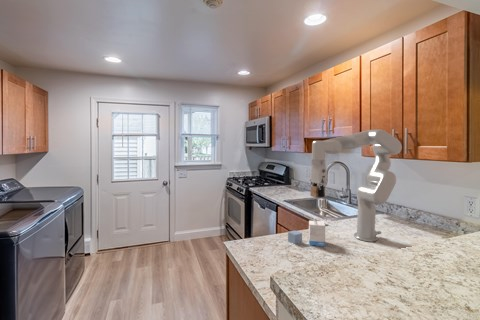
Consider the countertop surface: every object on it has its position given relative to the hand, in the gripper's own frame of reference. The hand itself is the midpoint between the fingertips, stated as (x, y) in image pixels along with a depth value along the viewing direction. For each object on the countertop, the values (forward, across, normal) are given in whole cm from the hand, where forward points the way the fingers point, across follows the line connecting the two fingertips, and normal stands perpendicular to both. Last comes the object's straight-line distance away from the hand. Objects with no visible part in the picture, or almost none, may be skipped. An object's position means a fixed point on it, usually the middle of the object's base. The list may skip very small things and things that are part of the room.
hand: (317, 195), depth 139 cm
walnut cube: (+1, 0, 0) cm, 1 cm away
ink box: (+27, 0, 0) cm, 27 cm away
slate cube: (+27, +4, +11) cm, 30 cm away
